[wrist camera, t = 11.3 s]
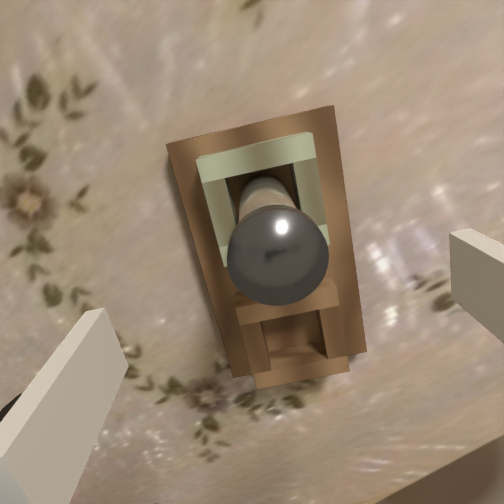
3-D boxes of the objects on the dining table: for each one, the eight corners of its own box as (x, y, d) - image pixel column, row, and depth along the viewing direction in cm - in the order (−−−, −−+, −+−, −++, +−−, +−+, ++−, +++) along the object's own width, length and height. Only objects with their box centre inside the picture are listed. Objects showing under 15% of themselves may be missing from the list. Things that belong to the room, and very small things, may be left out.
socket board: (233, 365, 41) (232, 398, 36) (170, 142, 33) (158, 147, 28) (361, 340, 40) (376, 370, 36) (328, 105, 32) (343, 104, 27)
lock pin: (241, 229, 34) (239, 314, 19) (228, 174, 32) (215, 223, 18) (296, 217, 33) (335, 294, 19) (286, 161, 32) (320, 200, 17)
